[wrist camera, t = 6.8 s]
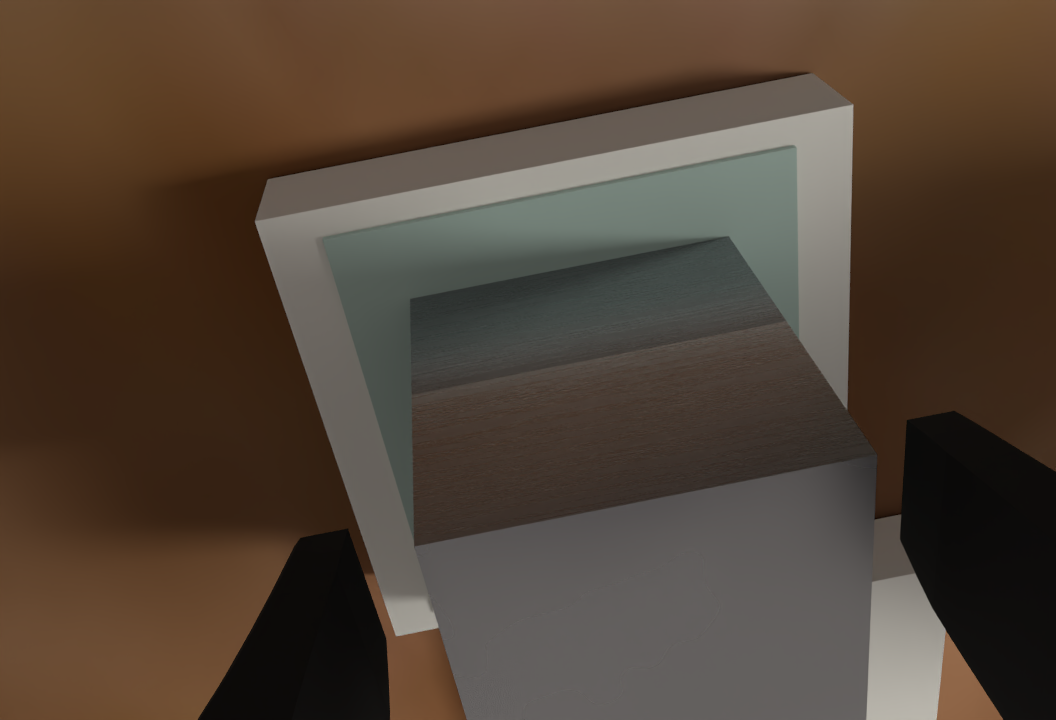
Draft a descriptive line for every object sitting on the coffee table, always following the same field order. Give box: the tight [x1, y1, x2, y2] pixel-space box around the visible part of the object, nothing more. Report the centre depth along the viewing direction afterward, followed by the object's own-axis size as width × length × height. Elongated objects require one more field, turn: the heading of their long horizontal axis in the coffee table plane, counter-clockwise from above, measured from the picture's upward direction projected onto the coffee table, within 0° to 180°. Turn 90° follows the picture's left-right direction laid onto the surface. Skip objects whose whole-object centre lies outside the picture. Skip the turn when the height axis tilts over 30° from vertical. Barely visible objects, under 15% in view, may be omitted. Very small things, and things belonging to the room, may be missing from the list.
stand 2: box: [866, 514, 946, 720], centre depth 20 cm, size 8×8×2 cm
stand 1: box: [255, 73, 853, 636], centre depth 16 cm, size 8×8×2 cm
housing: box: [410, 236, 877, 720], centre depth 13 cm, size 4×6×5 cm
